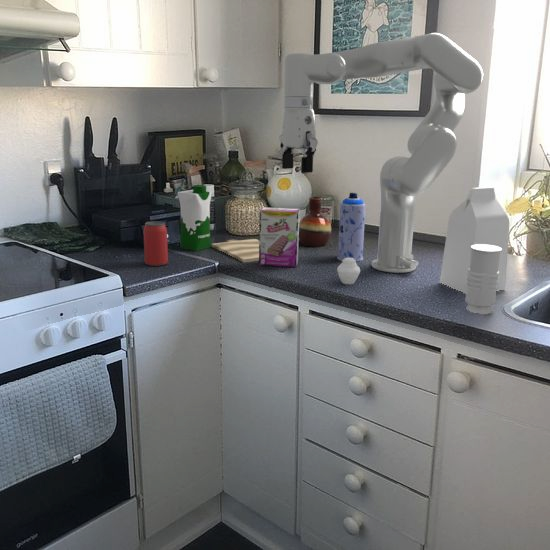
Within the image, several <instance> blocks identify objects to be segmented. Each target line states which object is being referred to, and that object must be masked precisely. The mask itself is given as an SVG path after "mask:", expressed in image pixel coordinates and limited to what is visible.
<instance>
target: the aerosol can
mask: <svg viewBox="0 0 550 550" xmlns="http://www.w3.org/2000/svg"><path fill="white" fill-rule="evenodd" d="M365 217H366V203H365V202H364V200H363V199H362V198H360V197H359V196H358V193H356V192H349V194H348V197H346V198H344V199H343V200H342V201H341V202H340V204H339V226H338V227H339V228H338V248H337V256H336V258H337V260H338V261H341V262H342V261H343V259H345V258H349V257H350V258H353V259H355V261H356V263H357V262H362V261H363V260H364V257H363V255H364V254H363V253H364V240H365V239H364V238H365V237H364V236H365V222H366V221H365V220H366V218H365Z"/></svg>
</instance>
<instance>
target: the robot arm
mask: <svg viewBox="0 0 550 550" xmlns="http://www.w3.org/2000/svg"><path fill="white" fill-rule="evenodd" d="M425 69H431V70H432V71H433V72H435V73H434V77H433V83H434V84H433V85H434V88H435V100H434V103H433V105H432V107H431V108H430V110H429V111H428V113H427V114H426V115H425V116H424V118H423V119H422V120H421V122H419V124H418V125H417V126H416V128H415V129H414V130H413V132H412V133H411V134H410V136H409V138H408V140H407V151H408V152H409V153H410V155H411V156H409V157H406V156H397V155H396V156H393V157H391V158H389V159H387V160H386V161H385V162H384V163H383V165H382V167H381V170H380V173H379V181H380V182H379V184H380V212H379V226H378V227H379V229H378V230H379V231H378V243H377V257H376V259H373V260H372V261H371V267H372V268H373V269H374V270H376V271H381V272H385V273H396V274H399V273H400V274H401V273H410V272H413V271H415V270H416V267H418V265H419V261H417V260H414V254H412V249H413V237H414V224H415V223H414V222H415V212H416V196H420V195H422V194H423V193H425V192H426V191H427V190H428V189H429V188H430V187H431V186H432V185H433V183H434V182H435V181H436V180H437V178H438V177H439V176H440V174H442V172H443V171H444V170H445V168H446V167H447V166H448V165H449V163H450V162H451V161H452V159H453V158H454V156H455V153H456V151H457V146H458V143H457V142H458V141H457V137H456V135H455V133H454V131H455V129H456V128H457V127H458V125H459V124H460V122H461V120H462V118H463V115H464V113H465V109H466V108H465V107H466V94H471V93H473V92H475V91H476V90H477V89H479V87H480V86H481V84H482V82H483V80H484V79H483V77H484V72H483V68H482V66H481V65H480V63H479V62H478V61H477V60H476V59H475V58H474V57H473V56H471V55H470V54H469V53H467V52H466V51H465V50H463V49H462V48H461V47H460V46H459V45H457V43H455V42H453V41H452V40H451V39H450V38H448V37H447V36H446V35H444V34H441V33H438V32H431V33H426V34H421V35H414V36H408V37H403V38H397V39H393V40H391V39H390V40H385V41H379V42H374V43H371V44H367V45H364V46H361V47H356V48H353V49H352V48H351V49H347V50H342V51H336V52H327V53H326V52H325V53H321V54H309V53H303V52H302V53H300V52H299V53H297V52H296V53H295V52H294V53H289V54H287V55H285V57H284V78H283V79H284V85H283V86H284V89H283V90H284V91H283V94H284V95H283V110H284V112H283V117H282V118H283V120H282V134H281V135H279V138H278V139H279V142H280V149H281V155H282V159H281V164H282V165H281V167H282V169H283V170H286V169H287V170H289V169H293V168H294V153H293V152H294V149H297V150H300V152H301V154H302V156H301V171H300V172H301V173H302V174H308V173H313V172H314V158H315V153H316V151H317V147H318V143H319V141H318V139H317V136H316V134H317V133H316V118H315V117H316V116H315V111H314V85H315V84H318V85H332V84H337V83H338V82H341V81H346V80H353V79H364V78H365V79H367V78H370V79H371V78H380V77H386V76H390V75H397V74H402V73H408V72H414V71H419V70H425Z"/></svg>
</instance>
